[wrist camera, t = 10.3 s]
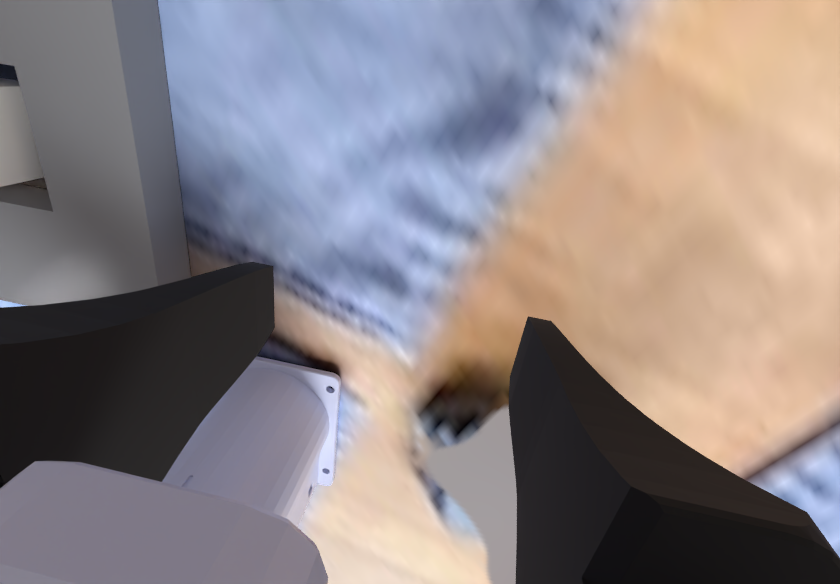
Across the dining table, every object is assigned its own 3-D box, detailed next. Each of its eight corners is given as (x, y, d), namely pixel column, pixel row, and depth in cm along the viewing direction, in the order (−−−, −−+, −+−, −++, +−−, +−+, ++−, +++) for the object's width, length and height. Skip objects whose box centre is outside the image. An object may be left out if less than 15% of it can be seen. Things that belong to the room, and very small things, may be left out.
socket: (195, 312, 25) (166, 335, 23) (-51, 261, 26) (-101, 278, 24) (147, -83, 17) (93, -108, 14) (-210, -132, 18) (-310, -162, 16)
